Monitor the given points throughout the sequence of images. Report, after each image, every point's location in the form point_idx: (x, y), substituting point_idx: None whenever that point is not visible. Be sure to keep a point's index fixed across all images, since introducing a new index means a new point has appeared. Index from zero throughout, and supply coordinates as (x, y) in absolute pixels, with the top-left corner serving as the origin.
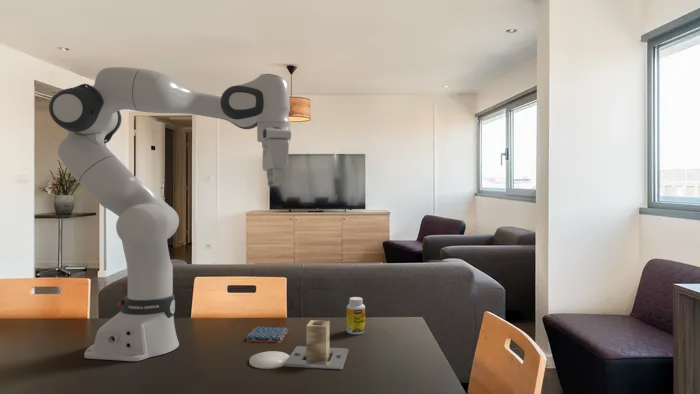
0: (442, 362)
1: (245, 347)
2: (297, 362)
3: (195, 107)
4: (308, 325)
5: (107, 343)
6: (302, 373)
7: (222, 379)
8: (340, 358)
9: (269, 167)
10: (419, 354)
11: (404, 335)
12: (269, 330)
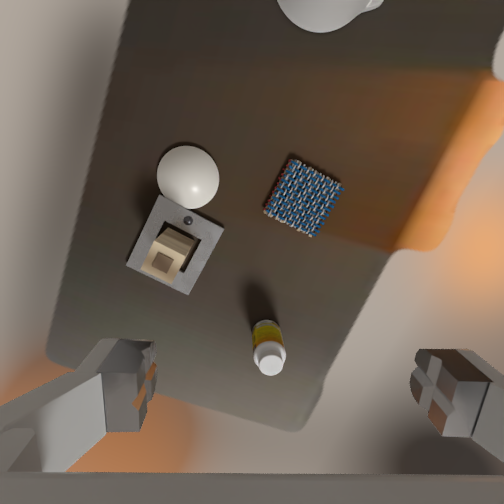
0: None
1: (261, 152)
2: (156, 212)
3: None
4: (156, 244)
5: None
6: (129, 211)
7: (138, 96)
8: None
9: (119, 476)
10: None
11: (225, 384)
12: (309, 204)
